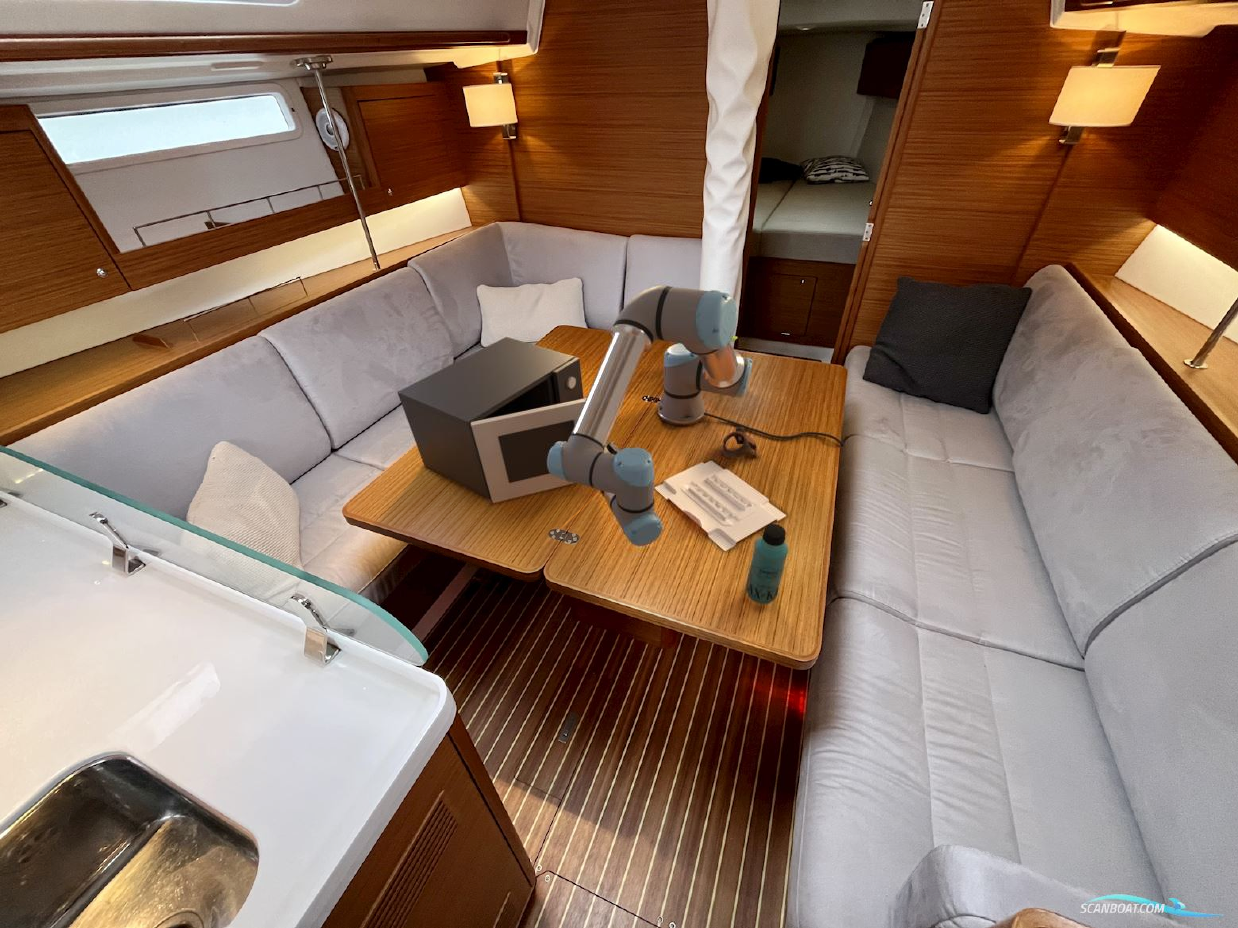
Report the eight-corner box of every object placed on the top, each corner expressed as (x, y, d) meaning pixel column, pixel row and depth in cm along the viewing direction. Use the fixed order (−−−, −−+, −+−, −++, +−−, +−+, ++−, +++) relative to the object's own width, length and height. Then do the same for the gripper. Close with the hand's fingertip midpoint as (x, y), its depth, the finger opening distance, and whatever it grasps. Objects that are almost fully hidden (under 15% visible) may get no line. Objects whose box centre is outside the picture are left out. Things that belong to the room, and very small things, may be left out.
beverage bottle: (740, 585, 107) (751, 519, 94) (771, 583, 107) (786, 516, 95) (749, 611, 102) (762, 544, 89) (781, 608, 102) (798, 541, 90)
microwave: (589, 431, 157) (581, 358, 141) (496, 503, 132) (474, 425, 116) (519, 405, 171) (506, 336, 156) (424, 466, 146) (397, 391, 131)
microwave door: (605, 490, 133) (599, 412, 118) (495, 518, 127) (473, 439, 112) (597, 473, 139) (590, 397, 124) (492, 499, 133) (470, 422, 117)
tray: (711, 460, 142) (712, 449, 139) (786, 518, 124) (789, 507, 121) (653, 488, 133) (653, 477, 131) (724, 554, 115) (726, 544, 113)
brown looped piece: (761, 465, 140) (752, 448, 134) (729, 474, 144) (719, 458, 138) (757, 432, 147) (747, 416, 141) (726, 442, 151) (716, 426, 145)
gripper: (587, 511, 109) (557, 453, 127) (649, 492, 113) (612, 438, 131) (584, 485, 105) (553, 429, 122) (649, 466, 109) (610, 414, 126)
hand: (584, 434), depth 127 cm, fingers closed on microwave door, 2 cm apart
